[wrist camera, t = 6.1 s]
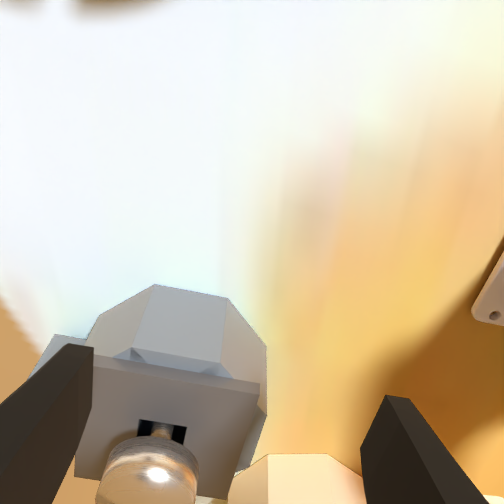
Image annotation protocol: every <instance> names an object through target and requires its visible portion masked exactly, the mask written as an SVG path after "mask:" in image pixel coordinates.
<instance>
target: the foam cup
mask: <svg viewBox="0 0 504 504" xmlns="http://www.w3.org/2000/svg"><path fill="white" fill-rule="evenodd" d="M483 496H484V498H485V499H486V500H487V501H488V502H489V504H504V498H502V497H499V496H488V495H483Z"/></svg>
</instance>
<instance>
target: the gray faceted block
mask: <svg viewBox="0 0 504 504" xmlns="http://www.w3.org/2000/svg"><path fill="white" fill-rule="evenodd" d="M67 343H71V344H77V345H83V346H89V347H94V361H93V391H92V408H91V411H90V414H89V417H88V420H87V423H86V426H85V429H84V432H83V435H82V438H81V440H80V443H79V446H78V449H77V451H76V453H75V472H74V477H80V478H86V479H92V480H99V481H101V479H102V476H103V473H104V470H105V467H106V464H107V461H108V458H109V455H110V453H111V451H112V450H113V449H114V448H115V447H116V446H117V445H118V444H119V443H121V442H123V441H125V440H128V439H131V438H135V437H142V436H150V434H151V430H152V426H153V422H154V421H155V422H161V423H168V424H174V428H173V433H172V438H171V440H172V441H175V442H177V443H179V444H181V445H183V446H184V447H186V448H187V449H188V450H189V451H191V452H192V454H193V455H194V456H195V457H196V459H197V461H198V464H199V476H198V484H197V491H196V495H198V496H205V497H211V498H218V499H224V500H226V499H227V496H228V493H229V490H230V486H231V483H232V480H233V477H234V474H235V472H238V471H241V470H243V469H246V468H248V467H250V463H251V460H252V457H253V455H254V452H255V449H256V446H257V443H258V440H259V437H260V434H261V431H262V428H263V425H264V422H265V419H266V416H267V376H266V345H265V344H264V343H263V342H262V340H261V339H260V338H259V337H258V335H257V334H256V333H255V332H254V330H253V329H252V328H251V327H250V325H249V324H248V323H247V322H246V320H245V319H244V318H243V317H242V315H241V314H240V313H239V312H238V310H237V309H236V308H235V307H234V305H233V304H232V303H231V302H230V300H229V299H228V298H224V297H219V296H213V295H208V294H203V293H198V292H193V291H187V290H182V289H177V288H172V287H166V286H161V285H156V284H154V285H152V286H151V287H149V288H147V289H145V290H144V291H142V292H140V293H138V294H136V295H135V296H133V297H131V298H129V299H128V300H126V301H124V302H122V303H121V304H119V305H117V306H115V307H113V308H112V309H110V310H108V311H106V312H105V313H103V314H101V315H99V317H98V319H97V321H96V323H95V325H94V327H93V328H92V330H91V332H90V334H89V336H88V338H87V340H85V339H79V338H74V337H68V336H62V335H57V334H55V335H54V337H53V338H52V340H51V342H50V343H49V345H48V346H47V348H46V350H45V351H44V353H43V355H42V356H41V358H40V360H39V361H38V363H37V364H36V366H35V368H34V369H33V371H32V373H31V374H30V376H29V378H30V377H31V376H32V375H33V374H35V373H36V372H37V371H38V370H39V369H40V368H41V367H42V366H43V365H44V364H45V363H46V362H47V361H48V360H49V359H50V358H51V357H52V356H54V355H55V354H56V353H57V352H58V351H59V350H60V349H61V348H62V347H63V346H64V345H66V344H67ZM29 378H28V379H29ZM28 379H27V380H28Z"/></svg>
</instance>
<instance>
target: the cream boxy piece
mask: <svg viewBox="0 0 504 504" xmlns="http://www.w3.org/2000/svg"><path fill="white" fill-rule="evenodd" d="M228 504H367V502H366V497H365V492H364V485H363V478H362V477H361V476H359V475H358V474H356V473H355V472H353V471H352V470H350V469H349V468H347V467H346V466H344V465H343V464H341V463H340V462H338V461H337V460H335V459H334V458H332V457H331V456H329V455H328V454H268V455H266V456H265V457H263V458H262V459H260V460H259V461H258V462H256V463H255V464H253V465H252V466H250V467H249V468H247V469H246V470H244V471H243V472H241V473H240V474H239V475H237V476H236V477H234V478H233V480H232V483H231V486H230V490H229V494H228Z"/></svg>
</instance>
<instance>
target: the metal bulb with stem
mask: <svg viewBox="0 0 504 504" xmlns="http://www.w3.org/2000/svg"><path fill="white" fill-rule="evenodd" d="M173 428H174V424H168V423H161V422H155V421H154V422H153V426H152V430H151V434H150V436H142V437H135V438H131V439H128V440H125V441H123V442H121V443H119V444H118V445H117V446H116V447H115V448H114V449H113V450H112V451H111V453H110V455H109V458H108V461H107V464H106V467H105V470H104V473H103V476H102V479H101V482H100V485H99V488H98V491H97V494H96V499H95V500H96V504H195V499H196V491H197V484H198V476H199V464H198V461H197V459H196V457H195V456H194V455H193V454H192V452H191V451H189V450H188V449H187V448H186V447H184V446H183V445H181V444H179V443H177V442H175V441H172V440H171V438H172V433H173Z"/></svg>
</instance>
